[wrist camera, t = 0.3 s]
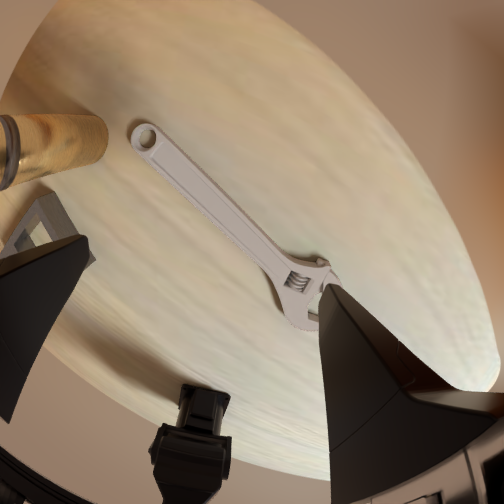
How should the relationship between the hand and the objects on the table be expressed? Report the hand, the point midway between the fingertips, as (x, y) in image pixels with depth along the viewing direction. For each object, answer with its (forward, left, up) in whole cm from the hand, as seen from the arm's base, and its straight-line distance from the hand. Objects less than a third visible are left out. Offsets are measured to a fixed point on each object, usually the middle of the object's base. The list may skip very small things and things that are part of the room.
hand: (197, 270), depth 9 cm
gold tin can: (+2, +15, -14) cm, 21 cm away
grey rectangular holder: (-11, +20, -14) cm, 27 cm away
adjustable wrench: (-2, -2, -15) cm, 15 cm away
